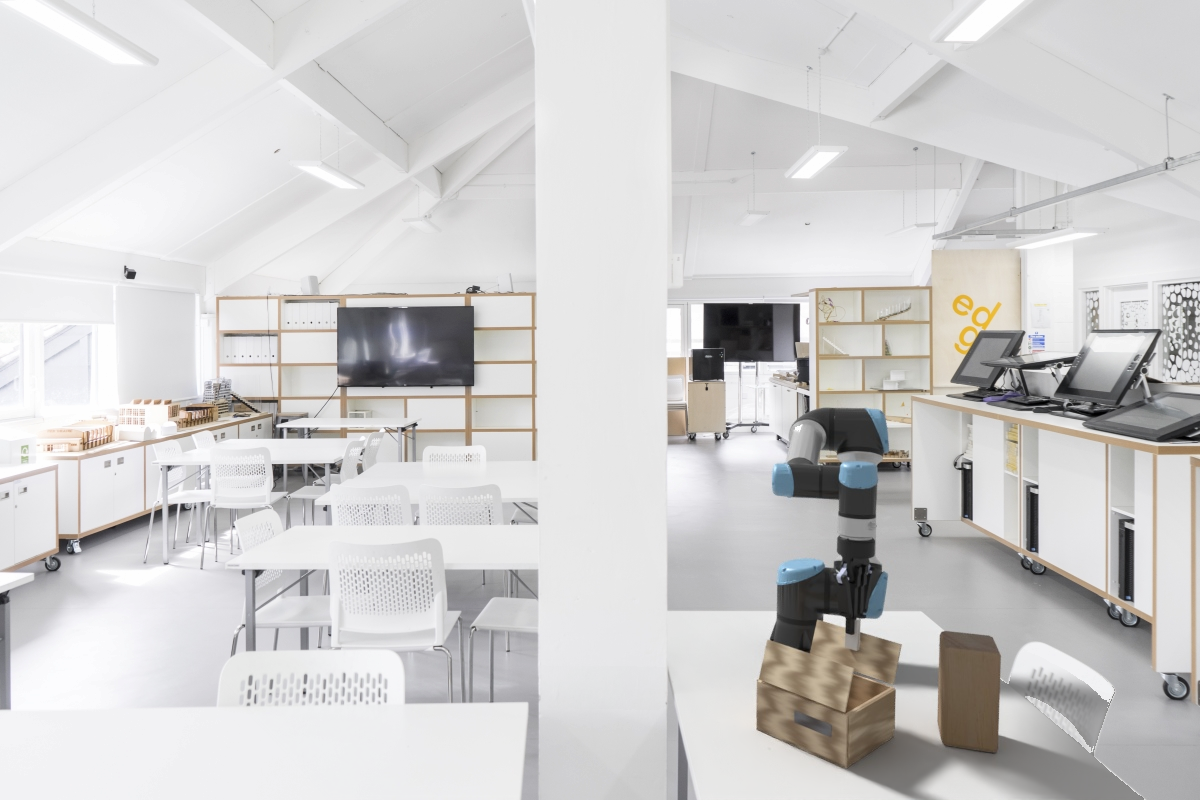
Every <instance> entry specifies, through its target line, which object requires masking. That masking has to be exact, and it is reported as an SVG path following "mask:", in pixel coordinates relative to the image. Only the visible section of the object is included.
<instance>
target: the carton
mask: <svg viewBox="0 0 1200 800" xmlns="http://www.w3.org/2000/svg"><path fill="white" fill-rule="evenodd" d="M896 693H897V689H896V688H895V687H894V686H891V685H888V684H885V683H882V682H879V681H876V680H873V679H870V678H867V677H865V676H862V675H859V674H855V673H853V677H852V682H851V687H850V692H849V697H848V702H847V707H846V712H842V711H840V710H837V709H834V708H832V707H829V706H827V705H824V704H821V703H819V702H816V701H814V700H811V699H808V698H806V697H803V696H801V695H798V694H795V693H793V692H790V691H788V690H785V689H782V688H780V687H777V686H775V685H772V684H769V683H767V682H764V681H762V680H759V678H757V679H756V714H755V715H756V717H755V718H756V728H755V729H756V730H757V731H760V732H762V733H764V734H766V735H768V736H770V737H773V738H775V739H777V740H780V741H782V742H783V743H786V744H788V745H791V746H793V747H795V748H797V749H800V750H802V751H804V752H806V753H808V754H811V755H813V756H815V757H818V758H820V759H822V760H825V761H826V762H828V763H831V764H834V765H836V766H837V767H840V768H842V769H844V770H846V769H848V768H849V767H850V766H852V765H854V764H855V763H857V762H858V761H860V760H861V759H862V758H864V757H866V756H867V755H869V754H870V753H872V752H873V751H874V750H876V749H878V748H879V747H881V746H882V745H883V744H885V743H886V742H888V741H889V740H891V739H892V738H894V734H895V729H896V722H895V721H896V699H897V698H896Z"/></svg>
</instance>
